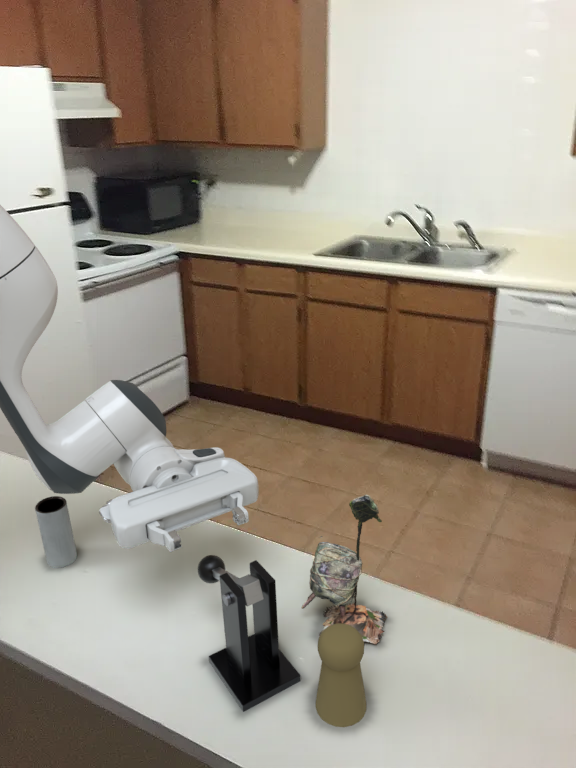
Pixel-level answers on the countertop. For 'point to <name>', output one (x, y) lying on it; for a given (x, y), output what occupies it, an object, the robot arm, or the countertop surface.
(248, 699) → the black lever stand
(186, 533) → the countertop surface
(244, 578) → the lever handle
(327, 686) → the olive pawn figure
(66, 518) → the grey tall hollow cylinder
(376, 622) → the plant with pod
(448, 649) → the countertop surface
